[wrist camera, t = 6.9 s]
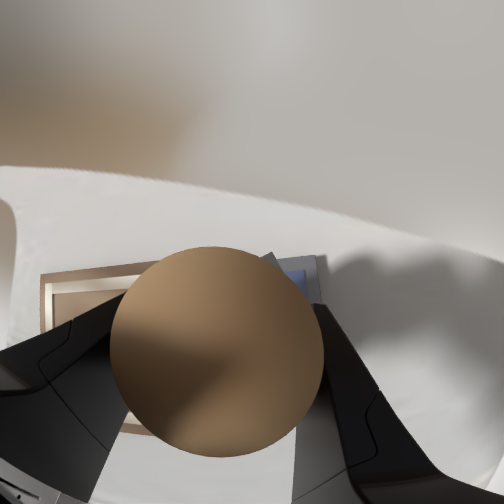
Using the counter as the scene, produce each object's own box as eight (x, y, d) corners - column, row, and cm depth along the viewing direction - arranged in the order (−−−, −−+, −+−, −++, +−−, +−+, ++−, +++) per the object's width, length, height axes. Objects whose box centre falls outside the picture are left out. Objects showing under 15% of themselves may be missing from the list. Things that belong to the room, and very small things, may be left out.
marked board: (186, 435, 18) (184, 438, 17) (55, 415, 18) (50, 417, 18) (169, 261, 22) (166, 258, 21) (44, 275, 22) (39, 273, 21)
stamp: (325, 358, 14) (421, 405, 4) (224, 409, 13) (158, 517, 4) (271, 261, 15) (275, 150, 6) (173, 312, 15) (44, 281, 5)
